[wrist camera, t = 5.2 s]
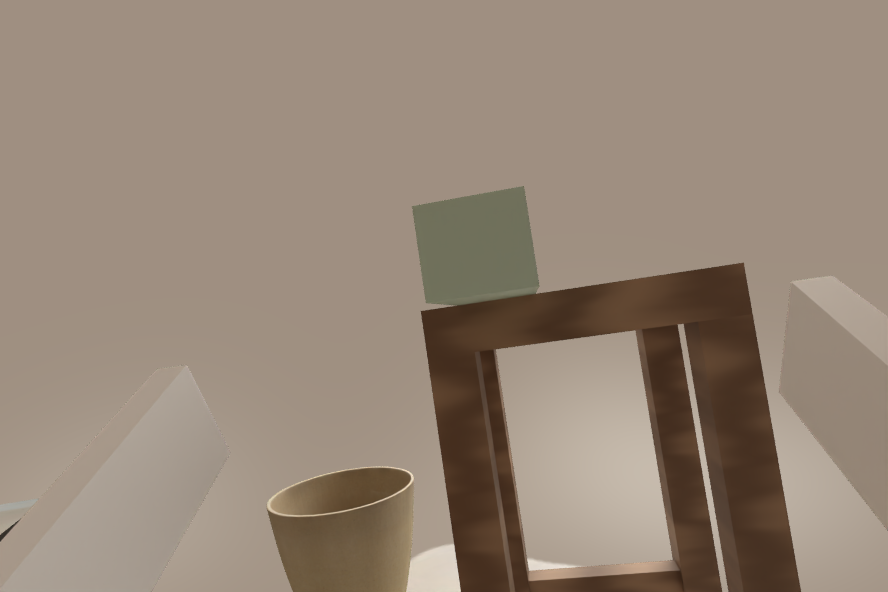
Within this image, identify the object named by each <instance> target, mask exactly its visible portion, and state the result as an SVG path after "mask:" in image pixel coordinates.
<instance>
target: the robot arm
mask: <svg viewBox="0 0 888 592" xmlns="http://www.w3.org/2000/svg"><path fill="white" fill-rule="evenodd" d="M779 393H780V394H781V395H782V396H783V398H784V399H785V400H786V402H787V403H788V404H789V405H790V407H791V408H792V409H793V410H794V412H795V413H796V414H797V416H798V417H799V418H800V419H801V421H802V422H803V423H804V425H805V426H806V427H807V428H808V429H809V431H810V432H811V433H812V435H813V436H814V437H815V439H816V440H817V441H818V442H819V444H820V445H821V446H822V447H823V449H824V450H825V451H826V453H827V454H828V455H829V456H830V458H831V459H832V460H833V462H834V463H835V464H836V465H837V467H838V468H839V469H840V470H841V472H842V473H843V474H844V475H845V477H846V478H847V479H848V481H849V482H850V483H851V484H852V486H853V487H854V488H855V489H856V491H857V492H858V493H859V495H860V496H861V497H862V498H863V500H864V501H865V502H866V504H867V505H868V506H869V507H870V509H871V510H872V511H873V513H874V514H875V515H876V516H877V518H878V519H879V520H880V521H881V523H882V524H883V525H884V527H885V528H886V529H887V530H888V317H887V316H886V315H885V314H883V313H882V312H881V311H879V310H878V309H877V308H875V307H874V306H873V305H871V304H870V303H869V302H867V301H866V300H865V299H863V298H862V297H861V296H859V295H858V294H857V293H855V292H854V291H853V290H851V289H850V288H849V287H847V286H846V285H845V284H843V283H842V282H841V281H839V280H838V279H837V278H835V277H834V276H826V277H819V278H811V279H804V280H797V281H791V284H790V293H789V303H788V312H787V321H786V330H785V340H784V348H783V358H782V368H781V376H780V386H779ZM230 453H231V452H230V450H229V448H228V446H227V444H226V442H225V440H224V438H223V436H222V434H221V432H220V430H219V428H218V426H217V424H216V422H215V420H214V418H213V416H212V414H211V412H210V410H209V408H208V406H207V404H206V402H205V400H204V398H203V396H202V394H201V392H200V390H199V388H198V386H197V384H196V382H195V381H194V378H193V376H192V374H191V372H190V370H189V368H188V367H187V365H181V366H174V367H166V368H159V369H156V371H155V372H154V373H153V374H152V375H151V376H150V377H149V378H148V379H147V381H146V382H145V383H144V384H143V385H142V386H141V387H140V388H139V389H138V390H137V391H136V393H135V394H134V395H133V396H132V397H131V398H130V399H129V400H128V402H127V403H126V404H125V405H124V406H123V407H122V408H121V409H120V410H119V412H117V414H116V415H115V416H114V417H113V418H112V419H111V420H110V421H109V422H108V423H107V425H106V426H105V427H104V428H103V429H102V430H101V431H100V433H98V434H97V436H96V437H95V438H94V439H93V440H92V441H91V442H90V443H89V444H88V446H87V447H86V448H85V449H84V450H83V451H82V452H81V453H80V454H79V455H78V457H77V458H76V459H75V460H74V461H73V462H72V463H71V464H70V465H69V466H68V468H67V469H66V470H65V471H64V472H63V473H62V474H61V475H60V476H59V478H58V479H57V480H56V481H55V482H54V483H53V484H52V485H51V486H50V487H49V489H48V490H47V491H46V492H45V493H44V494H43V495H42V496H41V497H40V498H39V500H38V501H37V502H36V503H35V504H34V505H33V506H32V507H31V508H30V510H29V511H28V512H27V513H26V514H25V515H24V516H23V517H22V518H21V519H20V520H19V521H17V522H16V523H15V524H13V525H12V526H11V527H10V528H8V529H7V530H6V531H5V532H3V533H2V534H1V535H0V592H152V590H153V589H154V587H155V585H156V583H157V582H158V580H159V578H160V576H161V575H162V573H163V571H164V569H165V568H166V566H167V564H168V562H169V560H170V559H171V557H172V555H173V553H174V552H175V550H176V548H177V547H178V545H179V543H180V541H181V539H182V538H183V536H184V534H185V532H186V531H187V529H188V527H189V525H190V523H191V522H192V520H193V518H194V517H195V515H196V513H197V511H198V509H199V508H200V506H201V504H202V502H203V501H204V499H205V497H206V495H207V494H208V492H209V490H210V488H211V487H212V485H213V483H214V481H215V479H216V478H217V476H218V474H219V472H220V471H221V469H222V467H223V465H224V463H225V462H226V460H227V458H228V457H229V455H230Z"/></svg>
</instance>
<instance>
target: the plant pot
mask: <svg viewBox="0 0 888 592" xmlns="http://www.w3.org/2000/svg"><path fill="white" fill-rule="evenodd" d="M413 504H414V476H413V475H412V474H411V473H410V472H409V471H406V470H404V469H399V468H393V467H363V468H354V469H348V470H342V471H337V472H333V473H328V474H325V475H321V476H317V477H314V478H311V479H308V480H305V481H302V482H299V483H297V484H294V485H292V486H289V487H287V488H285V489H283V490H281V491H280V492H278V493H277V494H275V495H274V496H273V497H272V498H270V500H269V501H268V503H267V511H268V514H269V518H270V522H271V525H272V529H273V533H274V536H275V540H276V544H277V547H278V550H279V554H280V557H281V560H282V563H283V566H284V569H285V572H286V574H287V577H288V580H289V582H290V585H291V588H292V590H293V592H406V589H407V582H408V575H409V567H410V558H411V547H412V533H413Z"/></svg>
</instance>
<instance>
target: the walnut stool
mask: <svg viewBox="0 0 888 592" xmlns="http://www.w3.org/2000/svg"><path fill="white" fill-rule="evenodd" d="M421 315H422V322H423V329H424V335H425V343H426V350H427V357H428V364H429V371H430V378H431V385H432V392H433V399H434V405H435V413H436V419H437V427H438V434H439V441H440V448H441V455H442V461H443V469H444V475H445V483H446V490H447V497H448V503H449V510H450V518H451V524H452V532H453V538H454V545H455V552H456V559H457V566H458V573H459V580H460V587H461V592H722V588H721V582H720V576H719V570H718V564H717V558H716V552H715V546H714V540H713V534H712V528H711V522H710V516H709V510H708V504H707V498H706V492H705V486H704V481H703V474H702V468H701V463H700V457H699V450H698V444H697V438H696V432H695V426H694V420H693V415H692V408H691V403H690V396H689V390H688V384H687V379H686V373H685V367H684V361H683V355H682V349H681V343H680V337H679V331H678V325H677V324H684V328H685V335H686V340H687V346H688V352H689V358H690V364H691V370H692V376H693V382H694V388H695V394H696V400H697V406H698V412H699V418H700V424H701V430H702V436H703V442H704V447H705V454H706V460H707V466H708V472H709V478H710V484H711V490H712V496H713V502H714V507H715V513H716V519H717V525H718V531H719V537H720V543H721V549H722V555H723V561H724V567H725V572H726V579H727V585H728V590H729V592H801V589H800V583H799V578H798V572H797V567H796V561H795V555H794V549H793V543H792V537H791V532H790V526H789V520H788V515H787V509H786V503H785V497H784V492H783V486H782V480H781V474H780V469H779V463H778V457H777V452H776V446H775V440H774V434H773V429H772V423H771V418H770V412H769V406H768V400H767V394H766V389H765V383H764V377H763V371H762V366H761V360H760V354H759V348H758V342H757V337H756V331H755V326H754V320H753V314H752V308H751V302H750V297H749V291H748V285H747V280H746V274H745V268H744V263H739V264H732V265H726V266H719V267H712V268H706V269H699V270H693V271H686V272H679V273H672V274H666V275H659V276H653V277H646V278H639V279H632V280H626V281H619V282H612V283H606V284H599V285H592V286H585V287H579V288H573V289H565V290H560V291H552V292H546V293H539V294H532V295H526V296H519V297H512V298H506V299H499V300H492V301H486V302H479V303H472V304H466V305H459V306H453V307H446V308H439V309H433V310H426V311H421ZM633 330H636V336H637V342H638V348H639V355H640V361H641V367H642V372H643V379H644V384H645V391H646V397H647V403H648V410H649V415H650V422H651V428H652V434H653V440H654V446H655V452H656V459H657V465H658V471H659V477H660V483H661V489H662V495H663V502H664V508H665V514H666V520H667V526H668V532H669V538H670V545H671V551H672V557H673V560H670V561H657V562H643V563H629V564H616V565H602V566H589V567H575V568H562V569H548V570H535V571H529V569H528V562H527V555H526V549H525V543H524V535H523V528H522V522H521V515H520V508H519V502H518V495H517V488H516V482H515V476H514V468H513V463H512V455H511V448H510V443H509V435H508V429H507V422H506V415H505V408H504V402H503V395H502V389H501V382H500V375H499V369H498V362H497V355H496V349H501V348H508V347H515V346H522V345H530V344H537V343H545V342H552V341H559V340H567V339H574V338H581V337H589V336H596V335H603V334H611V333H617V332H625V331H633Z"/></svg>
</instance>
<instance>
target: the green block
mask: <svg viewBox="0 0 888 592" xmlns="http://www.w3.org/2000/svg"><path fill="white" fill-rule="evenodd" d="M412 209H413V215H414V223H415V230H416V237H417V244H418V250H419V258H420V265H421V272H422V279H423V285H424V292H425V299H426V303H432V304H444V305H457V306H459V305H466V304H472V303H479V302H486V301H492V300H499V299H506V298H512V297H519V296H526V295H532V294H536V292H537V289H538V288H539V280H538V274H537V267H536V261H535V254H534V248H533V242H532V236H531V229H530V222H529V216H528V210H527V203H526V196H525V190H524V186H522V187H516V188H511V189H506V190H500V191H494V192H489V193H483V194H478V195H472V196H467V197H461V198H455V199H450V200H444V201H439V202H434V203H428V204H423V205H417V206H412Z"/></svg>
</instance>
